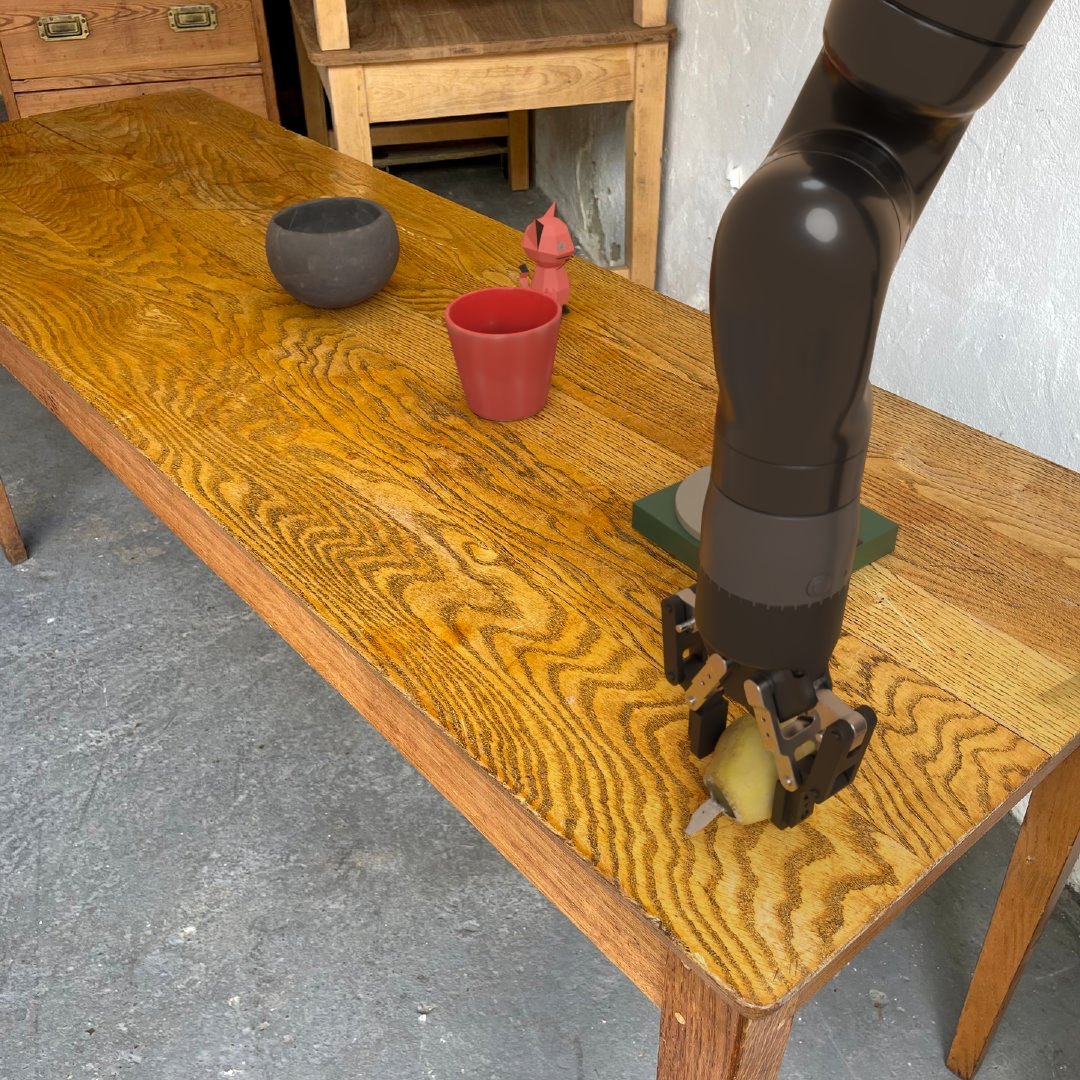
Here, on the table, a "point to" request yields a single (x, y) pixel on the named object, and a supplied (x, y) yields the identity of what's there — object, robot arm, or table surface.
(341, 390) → the table surface
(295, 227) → the bowl
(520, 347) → the flower pot
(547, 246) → the cat figurine
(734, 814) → the fruit
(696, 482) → the scale
